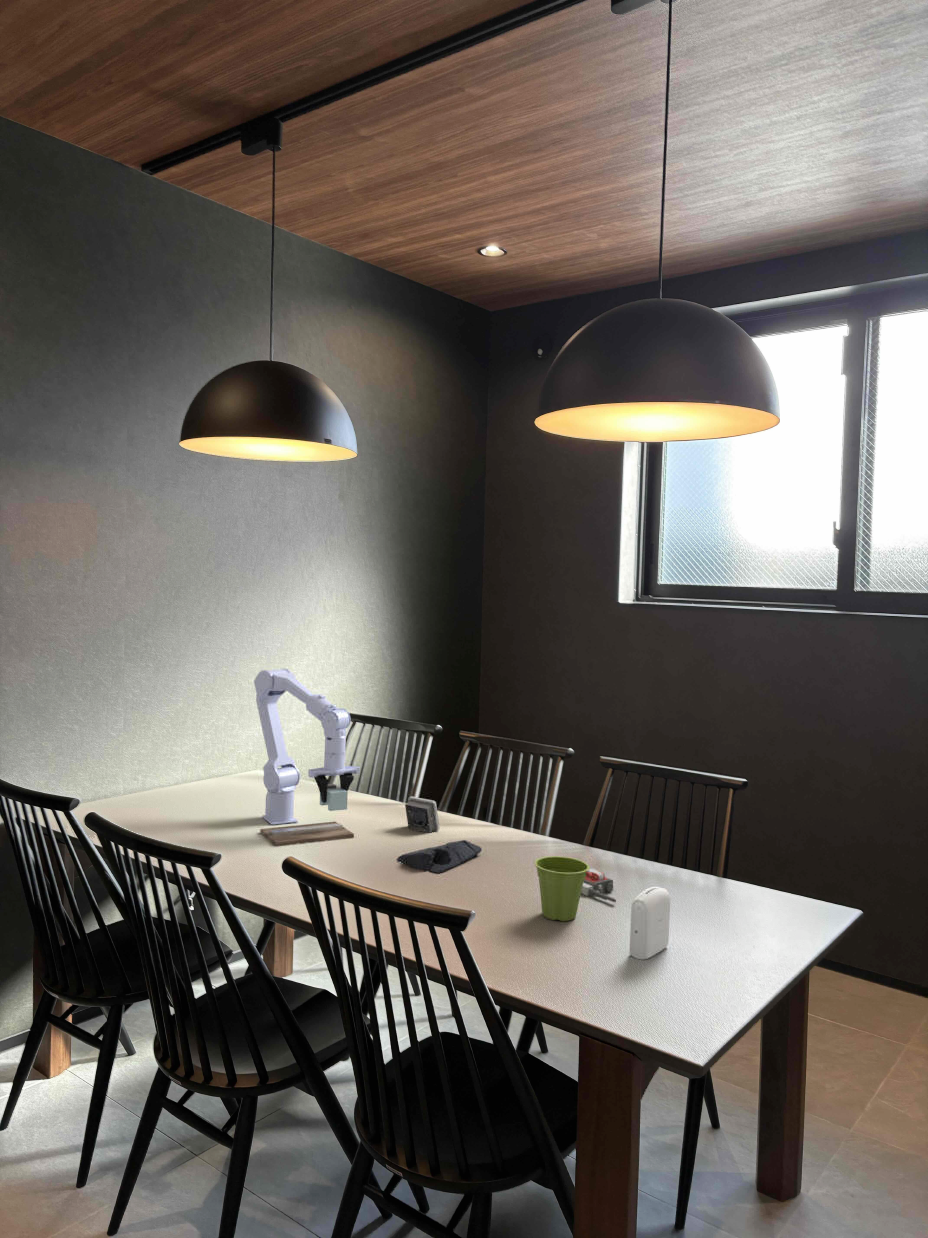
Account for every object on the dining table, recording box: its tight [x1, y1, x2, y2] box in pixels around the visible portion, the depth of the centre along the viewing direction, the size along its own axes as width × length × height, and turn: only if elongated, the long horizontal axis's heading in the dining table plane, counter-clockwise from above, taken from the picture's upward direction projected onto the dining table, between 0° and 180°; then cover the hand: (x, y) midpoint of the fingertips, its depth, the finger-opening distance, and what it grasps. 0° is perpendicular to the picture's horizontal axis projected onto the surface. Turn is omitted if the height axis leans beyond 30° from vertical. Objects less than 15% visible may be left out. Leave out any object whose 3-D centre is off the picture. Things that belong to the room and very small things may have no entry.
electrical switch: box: [404, 795, 440, 834], centre depth 258 cm, size 9×5×9 cm, turn 57°
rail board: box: [259, 821, 355, 847], centre depth 249 cm, size 14×22×2 cm, turn 119°
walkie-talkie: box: [581, 868, 617, 903], centre depth 212 cm, size 9×4×20 cm
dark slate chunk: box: [396, 839, 483, 874], centre depth 232 cm, size 15×22×5 cm
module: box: [319, 783, 349, 812], centre depth 252 cm, size 8×5×6 cm, turn 30°
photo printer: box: [629, 886, 671, 961], centre depth 177 cm, size 10×4×12 cm, turn 140°
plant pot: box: [533, 855, 591, 922], centre depth 194 cm, size 12×12×11 cm
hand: (333, 801), depth 252 cm, fingers closed on module, 5 cm apart
